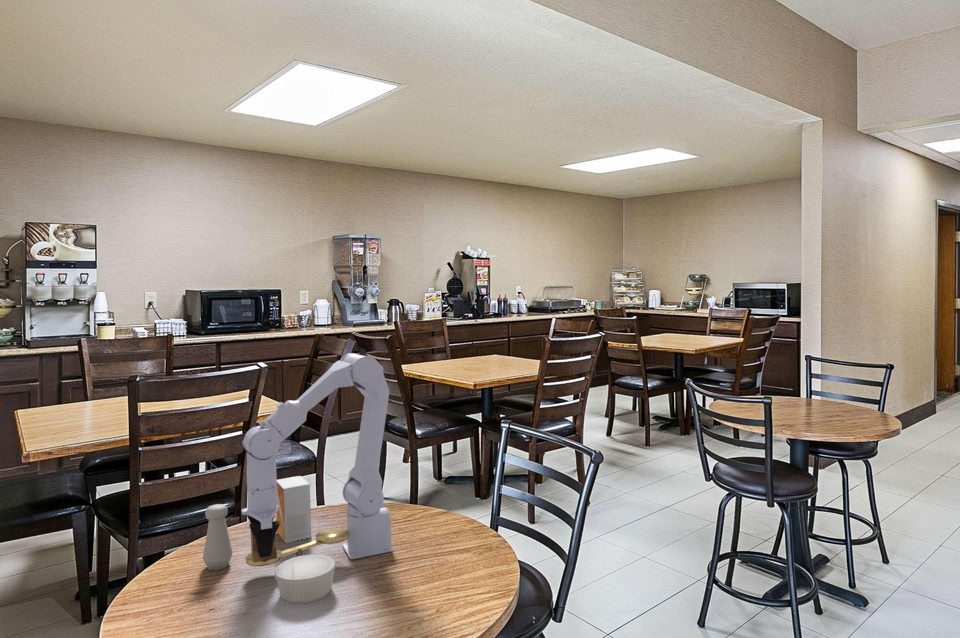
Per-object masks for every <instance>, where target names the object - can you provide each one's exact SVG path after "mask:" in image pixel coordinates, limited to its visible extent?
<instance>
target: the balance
mask: <svg viewBox="0 0 960 638" xmlns="http://www.w3.org/2000/svg"><path fill="white" fill-rule="evenodd" d="M348 538H349V531H348V530H347V529H346V528H341V527H340V528H339V527H333V528H326V529H323V530H320V531H318V532H317V533H316V534H315V540H313V541H310V542H309V541H308V542H306V543H304V544H303V543H302V544H301V545H297V546H293V547H291V548H287V549H285V550H280V549H277V558H274V559H269V560H264V561H258V562H253V559H252V554H251V552H250V553H249V554H247V555H246V556H245V564H246V565H248V566H251V567H266V566H271V565H274V564H276V563H277V562H279V561H281V560H282V558H283V557H287V556H288V555H292V554H295V555H294V557H298V556H303V555H304V550H308V549H310V548H314V547H317V546H321V545H323V544H324V545H325V544H326V545H329V544H330V545H331V544H334V545H335V544H339V543H342V542H344V541H346V540H347V539H348Z"/></svg>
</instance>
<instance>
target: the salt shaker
mask: <svg viewBox="0 0 960 638" xmlns="http://www.w3.org/2000/svg"><path fill="white" fill-rule="evenodd" d="M228 511H229V510H228V506H227V505H226V504H221V503H219V504H218V503H217V504H212V505H209V506H207V508H206V509H205V513H204V515H205V519H207V520H208V526H207V531H206V538H205V542H204V548H203V554H202V560H203V562H204V563H205V565H206V567H207V569H208V570H209V571H220V570H223V569H226V568H227V567H228V566H229V564H230V562H231V560H232V558H233V547H232V544H231V543H232V542H231V538H230V535H229V534H230V533H229V530H228V526H227V521H226V517H227V516H228Z"/></svg>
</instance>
